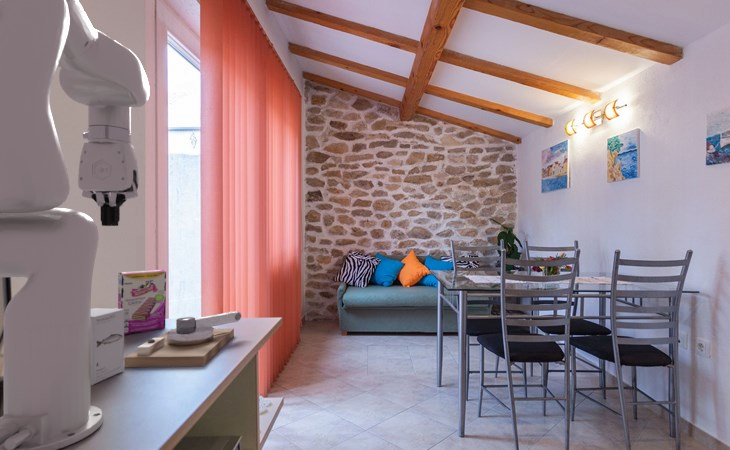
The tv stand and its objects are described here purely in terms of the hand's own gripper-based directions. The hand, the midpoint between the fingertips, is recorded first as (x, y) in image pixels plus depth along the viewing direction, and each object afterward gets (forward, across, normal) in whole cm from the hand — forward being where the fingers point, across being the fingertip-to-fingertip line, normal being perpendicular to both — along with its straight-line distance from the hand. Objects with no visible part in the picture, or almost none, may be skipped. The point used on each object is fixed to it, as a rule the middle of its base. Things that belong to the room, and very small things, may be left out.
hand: (110, 225), depth 83 cm
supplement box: (+29, +1, -7) cm, 30 cm away
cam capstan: (+27, +16, +13) cm, 34 cm away
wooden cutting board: (+29, +12, +9) cm, 33 cm away
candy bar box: (+29, -7, +27) cm, 40 cm away
